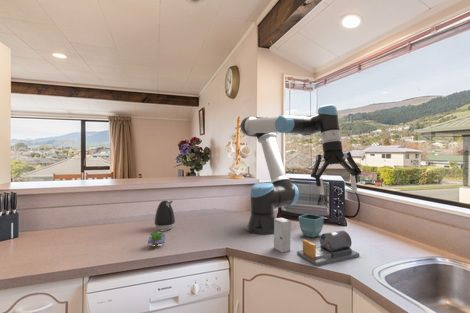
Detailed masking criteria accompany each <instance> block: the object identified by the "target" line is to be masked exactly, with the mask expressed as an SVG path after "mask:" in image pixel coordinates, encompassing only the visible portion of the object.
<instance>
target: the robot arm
mask: <svg viewBox="0 0 470 313" xmlns="http://www.w3.org/2000/svg"><path fill="white" fill-rule="evenodd" d="M239 127H240V131H241V132H242V134H244V135H245V136H248V137H253V138H256V139H257V142H258V143H259V144H261V148H262V151H263V155H264V159H265V162H266V166H267V170H268V173H269V176H270V177H269V179H270V180H271V181H270V182H263V183H256V184H254V185H253V186H251V187H250V217H249V220H248V223H247V231H248V232H250V233H252V234H257V235H270V234H274V219H276V218H275V210H274V209H275V208H276V209H277V208H284V207H285V208H288V207H290V206H294V205H296V203H297V202H298V200H299V196H300V192H299V189H298V186H297V185H296V184H294V183H292V180H291V179H290V178H289V177H288V176H287V174H286V171H285V170H286V169H285V168H284V167H285V166H284V164H283V160H282V157H281V154H280V153H281V152H280V150H279V147H278V144H277V143H278V142H277V140H276V139H277V138H278V134H300V135H301V136H304V137H306V136H307V137H308V136H311V135H315V134H317V133H320V139H321V142H322V152H323V154H321V153H319V154H316V156H315V163H314V165H313V169H312V171H311V173H310V178H313V179H315V184H316V187H318V191H319V195H321V196H323V195H325V190H324V180H323V178H321V177H322V175H323V174H324V173H325V171H326V169H327V168H328V166H331V165H341V166H342V167H343V169H345V171H347V172H348V173H349V175H350V176H349V180H350V187H351V192H352V193H358V188H357V184H358V183H359V180H358V175H359V174H362V171H361V169H360V167H359V166H358V164H357V163H356V161H355V160H354V158H353V157H352V153H351V151H348V152H343V143H342V141H341V140H342V137H341V129H340V123H339V114H338V109H337V107H336V105H334V104H325V105H321V106H320V107H319V108H318V109H317V114H316V115H313V116H310V117H309V116H299V115H298V116H297V115H289V114H284V115H283V114H281V115H279V116H270V117H267V116H266V117H263V116H262V117H261V116H247V117H244V119H242V121H241V122H240V126H239ZM344 158H345V159H346V160H345V159H344ZM322 160H324V162H323V164H322V166H321V167H320V164H321V162H322ZM347 162H348V163H347ZM319 167H320V168H319Z"/></svg>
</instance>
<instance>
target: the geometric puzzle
mask: <svg viewBox="0 0 470 313" xmlns="http://www.w3.org/2000/svg"><path fill="white" fill-rule="evenodd" d="M165 241H166V235H165V234H164V231H160V230H158V229H157V230H156V232H154V233H153V232H152V233H150V235H149V237H148V240H147V245H150V244H152V245H155V246H154V247H158V248H160V247H161V246H157V245H158V244H162V245H163V244H165V243H166V242H165ZM152 245H151V246H152Z"/></svg>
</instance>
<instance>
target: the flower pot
mask: <svg viewBox="0 0 470 313" xmlns="http://www.w3.org/2000/svg"><path fill="white" fill-rule="evenodd" d="M324 218H325V217H324V216H323V215H317V214H311V213H305V214H302V215H300V216H298V222H299V229H300V230H301V233H302V235H304V236H306V237H309V238H310V237H311V238H315V237H317V236H319V235H320V234H321V232H322V230H323V227H324V221H325V219H324Z"/></svg>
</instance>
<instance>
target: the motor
mask: <svg viewBox="0 0 470 313" xmlns="http://www.w3.org/2000/svg"><path fill="white" fill-rule="evenodd" d="M319 244H320V245H319V246H317V245H316V244H315V243H313V242H311V241H309V240H307V239H302V249H301V250H297V251H296V254H297V255H298V256H300V257H301V258H303V259H305V260H306V261H308V262H309V263H311V264H312V265H314V266H316V267H318V266H323V265H328V264H332V263H337V262H340V261H345V260H350V259H355V258H358V257H360V252H358V251H355V250H353V249H352V248H351V247H352V238H351V236H350V234H349V233H348V232H347V231H345V230H337V231H331V232H327V233H322V234H321V235H320V237H319ZM316 246H317V247H316Z"/></svg>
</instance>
